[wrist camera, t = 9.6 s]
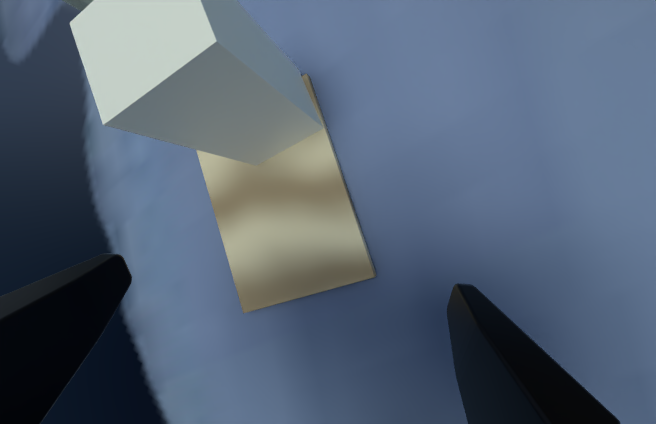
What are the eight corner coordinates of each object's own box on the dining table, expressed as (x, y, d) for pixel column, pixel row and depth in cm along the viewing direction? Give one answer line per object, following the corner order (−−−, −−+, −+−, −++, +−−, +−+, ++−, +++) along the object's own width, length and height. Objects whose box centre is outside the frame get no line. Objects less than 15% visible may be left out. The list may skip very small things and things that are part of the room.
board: (376, 275, 19) (375, 276, 18) (248, 310, 22) (243, 313, 21) (310, 77, 20) (306, 73, 20) (197, 135, 23) (191, 133, 23)
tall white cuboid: (323, 128, 19) (216, 41, 9) (256, 165, 21) (103, 125, 11) (298, 68, 20) (171, -73, 10) (234, 109, 22) (69, 22, 12)
